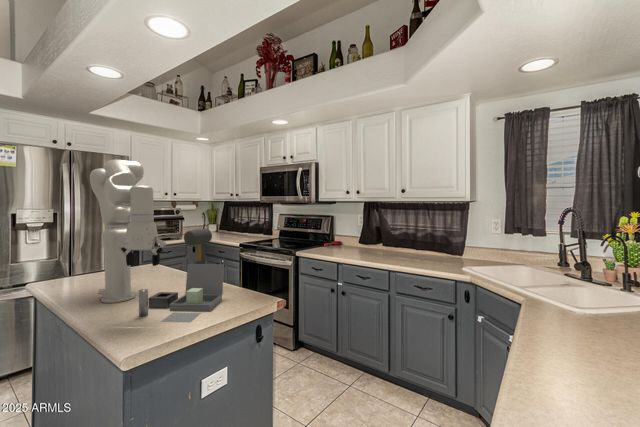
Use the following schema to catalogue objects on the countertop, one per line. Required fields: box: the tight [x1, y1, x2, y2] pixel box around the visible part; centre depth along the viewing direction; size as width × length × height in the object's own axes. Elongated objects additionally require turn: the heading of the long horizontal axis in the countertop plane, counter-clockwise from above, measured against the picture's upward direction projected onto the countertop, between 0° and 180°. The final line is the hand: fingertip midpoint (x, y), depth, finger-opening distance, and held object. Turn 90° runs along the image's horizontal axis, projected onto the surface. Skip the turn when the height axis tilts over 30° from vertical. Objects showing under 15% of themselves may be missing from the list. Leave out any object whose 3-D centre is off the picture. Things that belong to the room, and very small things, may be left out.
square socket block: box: [148, 291, 179, 309], centre depth 126 cm, size 8×8×4 cm
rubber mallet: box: [183, 228, 213, 264], centre depth 148 cm, size 12×8×30 cm, turn 159°
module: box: [185, 288, 203, 304], centre depth 124 cm, size 4×5×7 cm
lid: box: [185, 263, 225, 296], centre depth 134 cm, size 16×13×1 cm
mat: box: [160, 312, 202, 323], centre depth 113 cm, size 11×9×1 cm
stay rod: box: [138, 288, 149, 318], centre depth 114 cm, size 3×3×10 cm
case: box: [169, 293, 223, 312], centre depth 126 cm, size 16×13×3 cm
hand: (143, 265), depth 114 cm, fingers open, 9 cm apart
